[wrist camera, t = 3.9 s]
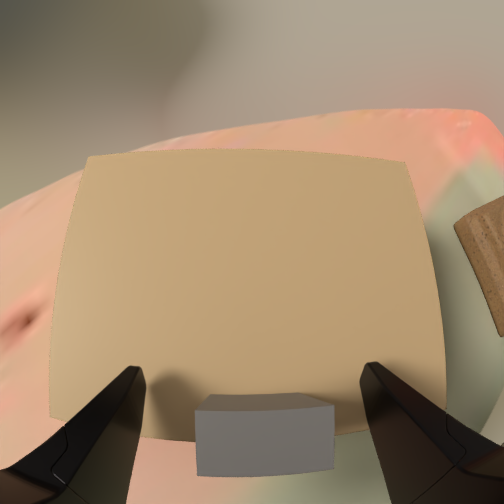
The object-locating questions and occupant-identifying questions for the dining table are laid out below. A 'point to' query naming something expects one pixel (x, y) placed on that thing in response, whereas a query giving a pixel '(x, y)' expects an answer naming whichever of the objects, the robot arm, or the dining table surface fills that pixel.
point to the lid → (245, 299)
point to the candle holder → (486, 253)
